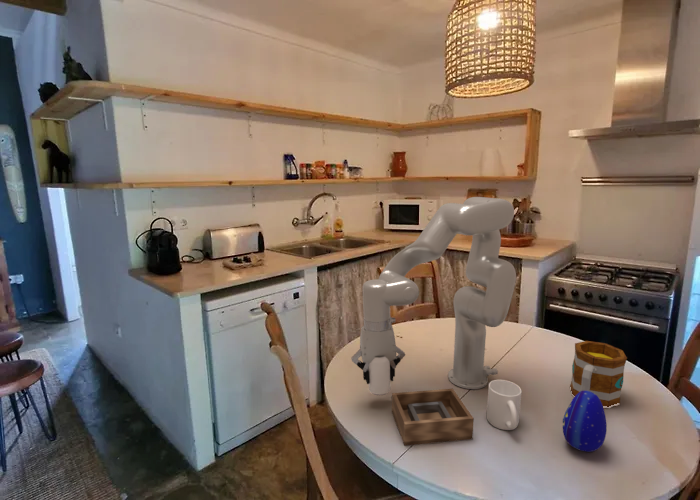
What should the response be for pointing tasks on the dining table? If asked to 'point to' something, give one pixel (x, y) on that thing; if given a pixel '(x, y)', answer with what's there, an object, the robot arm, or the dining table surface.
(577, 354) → the mug
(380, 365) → the can
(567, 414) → the ornament
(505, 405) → the mug
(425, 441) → the bin
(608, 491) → the dining table surface
